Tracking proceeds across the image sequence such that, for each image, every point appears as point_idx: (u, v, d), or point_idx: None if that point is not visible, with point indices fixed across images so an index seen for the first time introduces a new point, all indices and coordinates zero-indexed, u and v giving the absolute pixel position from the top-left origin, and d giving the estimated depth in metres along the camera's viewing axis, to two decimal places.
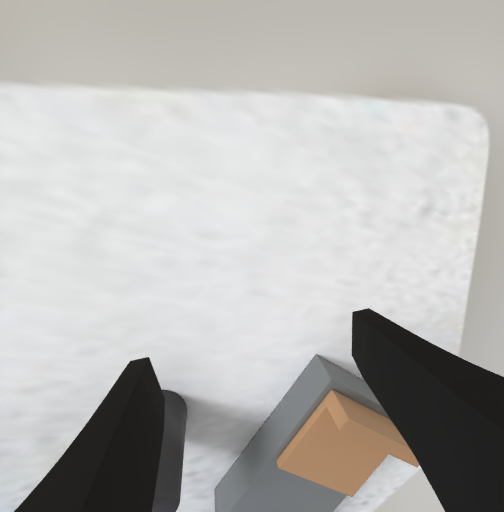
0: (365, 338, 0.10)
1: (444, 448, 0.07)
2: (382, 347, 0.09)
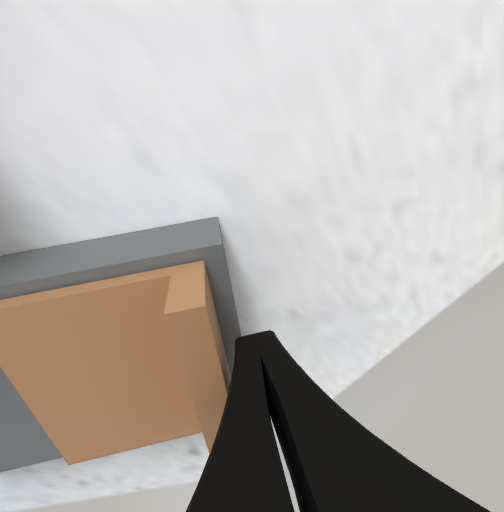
0: None
1: (299, 488, 0.07)
2: (266, 374, 0.08)
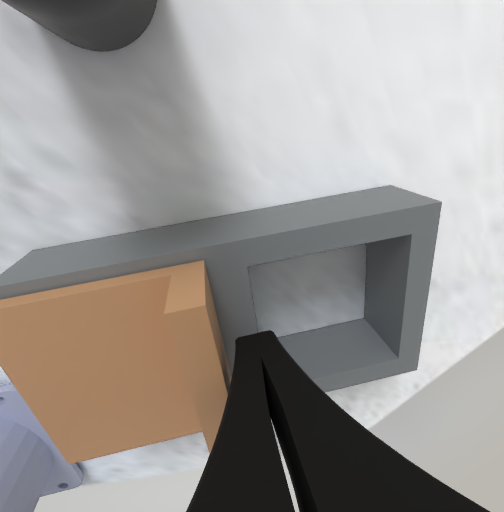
0: None
1: (298, 488, 0.07)
2: (265, 374, 0.08)
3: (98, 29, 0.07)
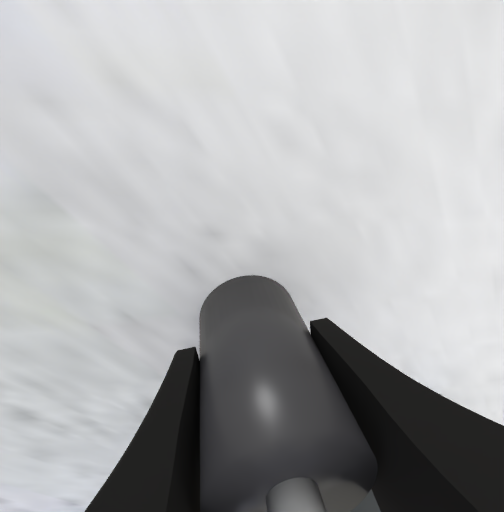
0: (320, 348, 0.09)
1: (382, 465, 0.07)
2: (332, 359, 0.08)
3: None
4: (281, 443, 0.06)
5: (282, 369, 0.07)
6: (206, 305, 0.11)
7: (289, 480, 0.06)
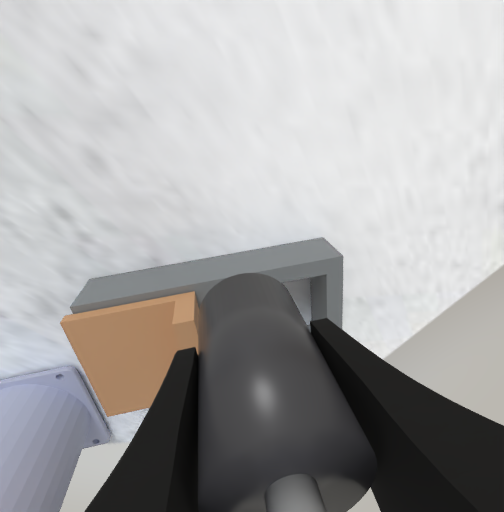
0: (320, 348, 0.09)
1: (382, 465, 0.07)
2: (332, 359, 0.08)
3: None
4: (277, 441, 0.06)
5: (277, 366, 0.07)
6: (204, 304, 0.11)
7: (287, 477, 0.06)
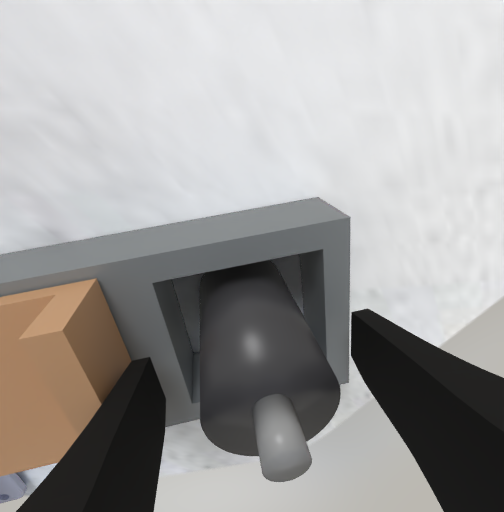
0: (364, 338, 0.10)
1: (443, 448, 0.07)
2: (381, 347, 0.09)
3: None
4: (259, 363, 0.07)
5: (262, 316, 0.09)
6: (204, 279, 0.13)
7: (269, 396, 0.08)
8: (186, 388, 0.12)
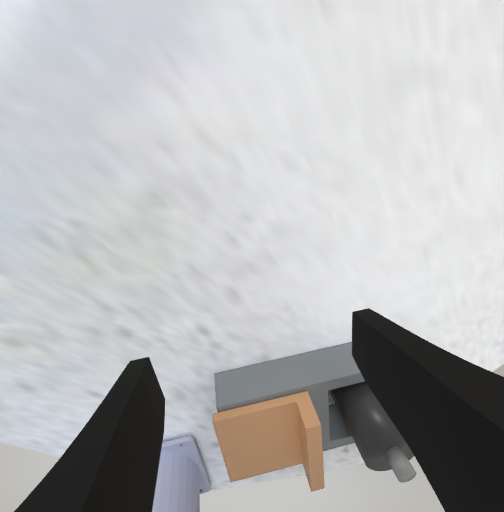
0: (365, 338, 0.10)
1: (444, 448, 0.07)
2: (382, 347, 0.09)
3: None
4: (392, 435, 0.19)
5: (384, 410, 0.20)
6: None
7: (393, 447, 0.19)
8: (329, 434, 0.23)
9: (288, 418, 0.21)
